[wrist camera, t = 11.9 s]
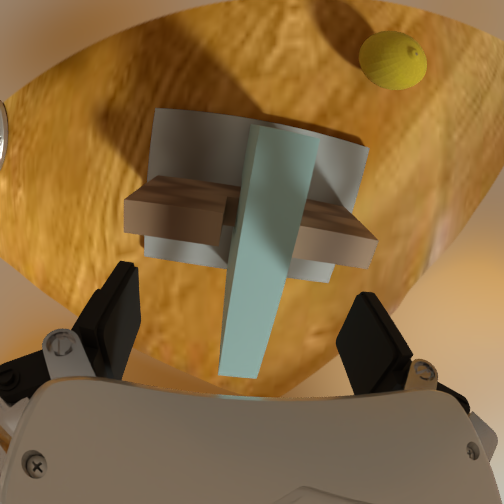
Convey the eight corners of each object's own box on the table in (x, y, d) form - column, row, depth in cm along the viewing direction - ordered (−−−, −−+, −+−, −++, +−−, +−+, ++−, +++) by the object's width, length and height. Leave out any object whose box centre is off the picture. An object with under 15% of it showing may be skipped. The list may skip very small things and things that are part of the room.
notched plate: (250, 123, 22) (260, 126, 10) (277, 128, 23) (320, 138, 10) (227, 264, 28) (218, 374, 16) (250, 267, 29) (256, 378, 16)
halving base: (147, 251, 29) (116, 301, 21) (158, 108, 22) (118, 104, 14) (326, 278, 31) (350, 331, 23) (365, 146, 24) (414, 162, 16)
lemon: (364, 99, 22) (407, 96, 15) (336, 51, 20) (371, 29, 13) (404, 82, 21) (453, 78, 14) (379, 36, 19) (422, 16, 12)
